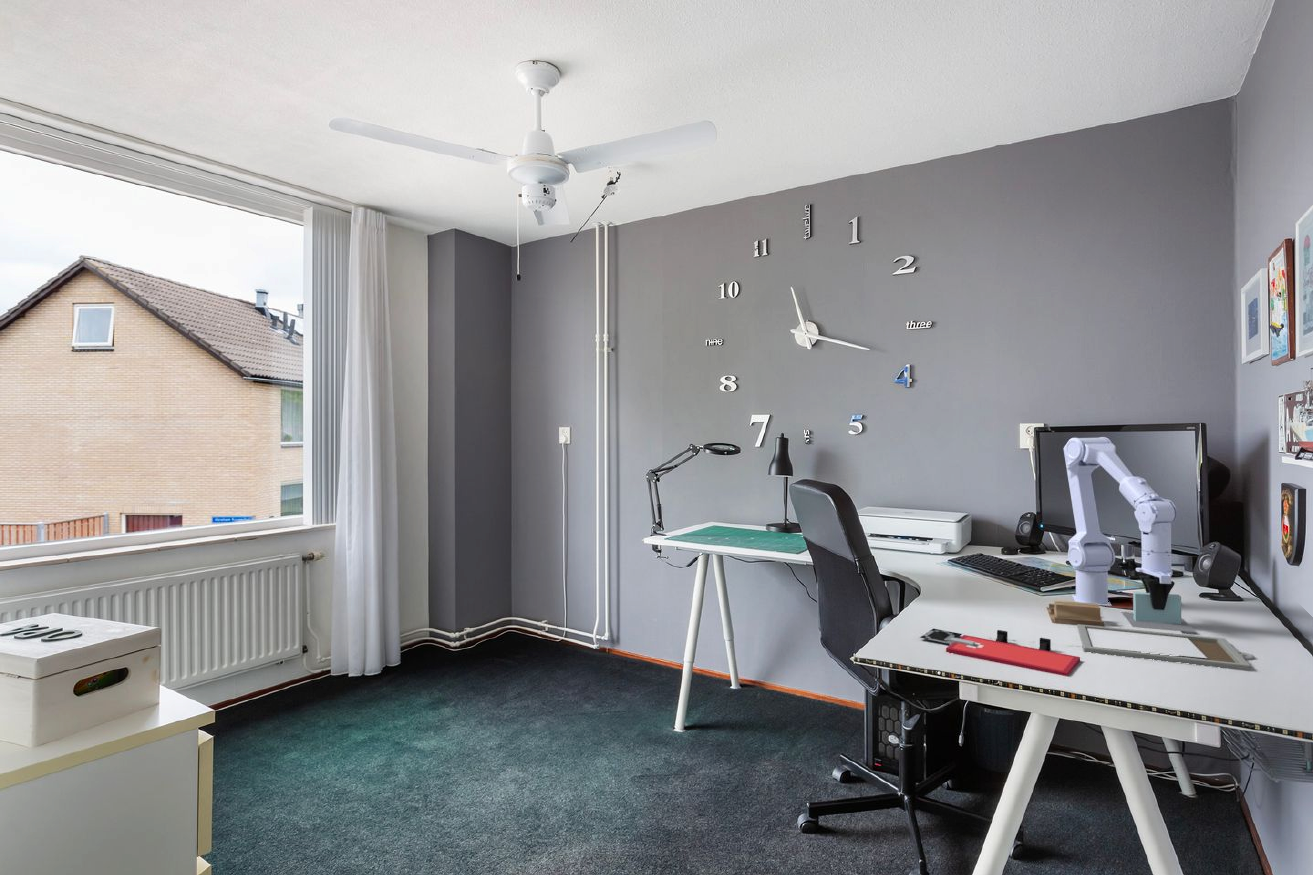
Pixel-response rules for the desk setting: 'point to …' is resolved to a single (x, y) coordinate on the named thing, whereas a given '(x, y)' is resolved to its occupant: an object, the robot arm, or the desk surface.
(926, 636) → the red board with handle
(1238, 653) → the grey flat rectangular frame
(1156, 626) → the mat
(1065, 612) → the offcut
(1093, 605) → the offcut
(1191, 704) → the desk surface
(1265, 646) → the desk surface
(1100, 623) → the rack
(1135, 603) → the pale teal block
